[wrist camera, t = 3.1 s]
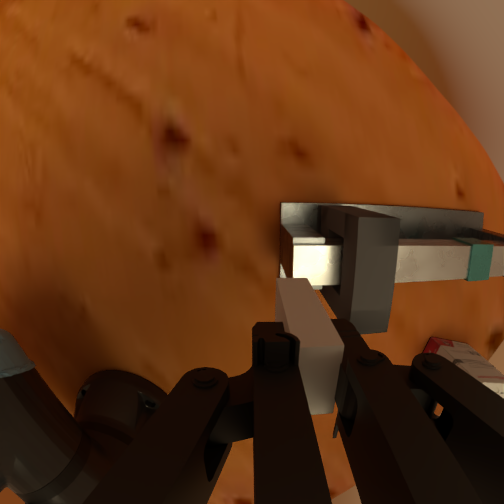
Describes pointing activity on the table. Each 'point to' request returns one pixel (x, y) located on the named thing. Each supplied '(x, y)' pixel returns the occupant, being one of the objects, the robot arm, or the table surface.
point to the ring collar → (362, 265)
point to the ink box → (468, 362)
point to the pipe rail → (409, 225)
